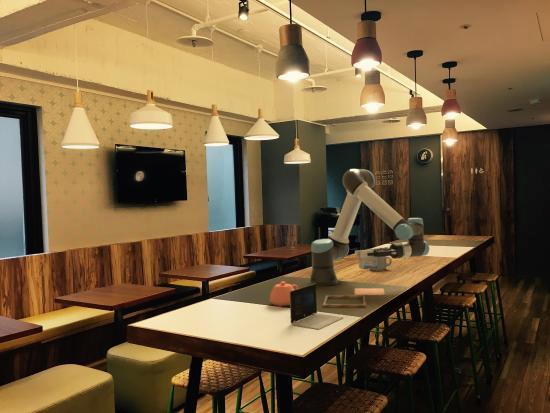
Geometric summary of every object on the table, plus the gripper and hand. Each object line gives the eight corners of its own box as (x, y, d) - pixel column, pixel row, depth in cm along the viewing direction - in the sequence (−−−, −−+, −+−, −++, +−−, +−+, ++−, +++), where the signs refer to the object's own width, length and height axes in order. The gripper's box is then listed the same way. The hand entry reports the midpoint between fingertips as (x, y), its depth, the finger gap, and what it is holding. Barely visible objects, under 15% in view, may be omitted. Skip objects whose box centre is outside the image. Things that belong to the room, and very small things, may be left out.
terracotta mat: (354, 295, 216) (354, 294, 216) (354, 289, 230) (354, 288, 230) (384, 295, 214) (384, 294, 214) (383, 289, 228) (383, 288, 227)
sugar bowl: (266, 303, 208) (265, 280, 207) (294, 299, 213) (293, 277, 212) (275, 309, 196) (274, 285, 196) (305, 305, 201) (304, 282, 201)
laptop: (318, 331, 164) (317, 294, 164) (290, 326, 171) (289, 291, 171) (343, 319, 178) (342, 285, 178) (316, 315, 186) (315, 283, 185)
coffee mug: (367, 270, 285) (366, 254, 285) (373, 267, 293) (373, 252, 293) (388, 271, 277) (387, 255, 277) (393, 269, 286) (393, 253, 285)
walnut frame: (322, 307, 196) (322, 304, 196) (326, 297, 214) (326, 295, 214) (365, 307, 193) (365, 305, 193) (365, 297, 211) (365, 295, 211)
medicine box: (363, 269, 218) (362, 251, 218) (358, 268, 222) (358, 250, 222) (377, 268, 221) (377, 250, 221) (372, 266, 225) (372, 249, 225)
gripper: (410, 260, 219) (367, 264, 211) (390, 256, 236) (349, 259, 228) (410, 244, 219) (367, 248, 211) (389, 241, 235) (349, 244, 228)
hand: (358, 254), depth 220 cm, fingers closed on medicine box, 4 cm apart
